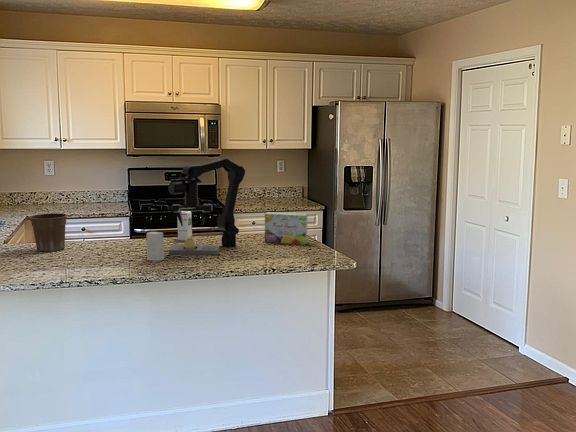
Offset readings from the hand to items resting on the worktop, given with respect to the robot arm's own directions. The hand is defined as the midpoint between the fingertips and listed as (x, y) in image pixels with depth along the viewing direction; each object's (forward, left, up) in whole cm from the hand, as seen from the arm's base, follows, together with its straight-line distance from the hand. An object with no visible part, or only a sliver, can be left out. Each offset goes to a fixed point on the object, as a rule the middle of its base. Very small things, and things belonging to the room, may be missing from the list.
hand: (192, 226), depth 265 cm
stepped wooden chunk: (+1, +3, -12) cm, 12 cm away
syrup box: (+8, -28, -12) cm, 32 cm away
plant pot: (+67, -2, -12) cm, 68 cm away
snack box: (-44, -20, -12) cm, 50 cm away
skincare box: (+14, +19, -12) cm, 26 cm away
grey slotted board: (-1, +3, -12) cm, 12 cm away
